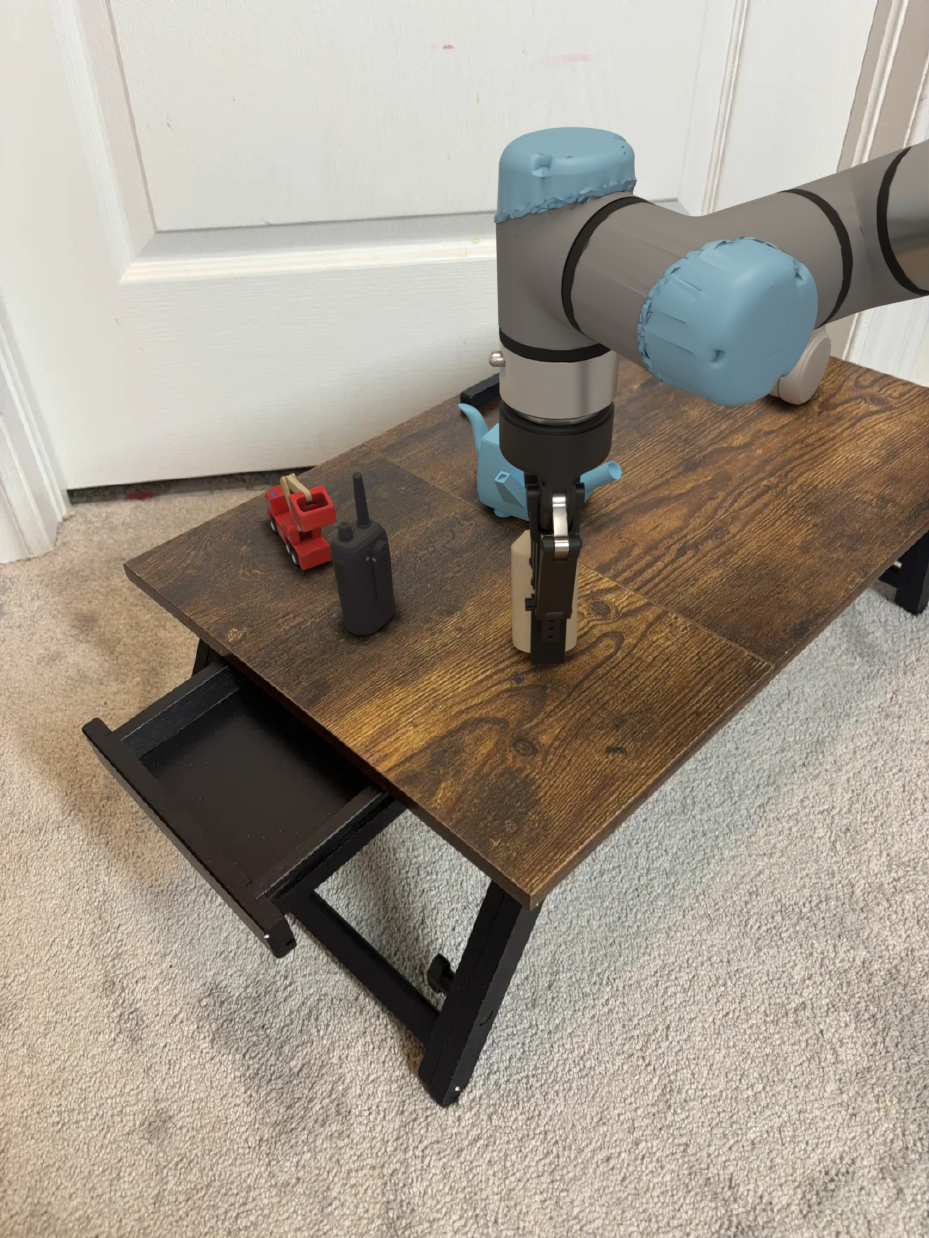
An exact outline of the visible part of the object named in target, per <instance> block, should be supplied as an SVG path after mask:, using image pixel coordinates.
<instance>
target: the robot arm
mask: <svg viewBox="0 0 929 1238" xmlns="http://www.w3.org/2000/svg"><path fill="white" fill-rule="evenodd" d="M635 158H636V155H635V151H634V148H633V147H632V146H631V144H630V143H629V142H628V141H627V140H626V139H625V138H624V137H623V136H622V135H621V134H618V133H616V132H613V131H610V130H607V129H601V128H594V127H583V126H561V127H550V128H544V129H540V130H539V129H538V130H536V131H530V132H527V133H524V134H522V135H520V136H517V137H515V139H513V140H512V141H510V142H508V144H507V145H506V146H505V148H504V149H503V151H502V153H501V155H500V157H499V161H498V173H497V174H498V175H497V177H498V178H497V200H496V213H494V215H493V216H494V217H493V223H494V224H495V243H496V245H495V247H496V248H495V249H496V250H495V251H496V282H497V283H496V284H497V285H496V287H497V290H496V291H497V325H498V339H499V340H498V346H499V350H492V351H491V352H490V353H488V364H489V365H490V366H491V367H492V368H499V372H498V373H499V395H500V397H501V399H500V400H499V402H498V423H499V447H500V451H501V453H502V455H503V457H504V458H505V459H506V460H507V461H508V462H509V463H510V464H511V465H512V466H514V467H515V468H517V469H519V470H521V471H524V484H525V489H526V500H527V513H528V518H529V521H528V528H529V529H528V530H530V558H529V565H530V566H531V569H532V577H531V585H532V587H533V590H535V593H534V594H531V598H525V611H531V634H530V653H529V655H530V656H529V657H530V658H529V659H530V666H547V665H548V666H550V665H551V666H552V665H565V664H566V663H565V661H566V651H565V647H566V628H567V619H571V614H572V602H573V594H574V585H575V577H576V569H577V560H578V557H580V554H581V549H582V548H583V540H582V537H581V535H580V526H581V525H580V523H581V512H582V510H583V508H584V507H585V504H586V501H585V484H584V482H580V478H581V475H582V474H584V473H586V472H588V471H590V470H592V469H594V468H596V467H597V466H598V467H600V466H601V465H602V464H603V463H604V462H605V461H606V460H607V458H608V457H609V455H610V452H611V450H612V444H613V433H614V432H613V431H614V420H615V402H614V400H615V398H616V397H617V392H618V391H617V390H618V379H619V368H620V358H621V356H622V357H623V358H624V359H627V360H628V361H630V362H632V363H634V364H635V365H637V366H638V367H640V368H642V369H643V370H645V371H647V372H649V373H650V374H652V375H653V376H654V377H655V378H656V379H658V380H660V381H661V383H663V384H665V385H666V386H668V387H670V386H671V387H673V388H674V389H676V390H678V391H681V390H682V391H683V390H684V391H686V392H689V393H691V394H693V395H696V396H698V397H700V398H702V399H703V400H706V401H708V402H711V403H713V404H715V405H718V406H723V407H740V406H745V405H748V404H752V403H754V402H757V401H758V400H761V399H762V398H764V397H766V396H767V395H769V394H768V393H769V392H771V390H772V389H773V387H774V385H775V383H776V381H777V379H778V378H780V377H786V376H787V375H788V374H789V373H790V372H791V371H792V370H793V368H794V367H795V366H796V364H797V363H798V361H799V360H800V358H801V356H802V354H803V353H804V351H805V349H806V347H807V345H808V343H809V340H810V338H811V335H812V332H813V330H815V329H817V328H820V327H822V326H823V325H825V324H826V325H827V324H830V323H833V322H836V321H839V320H841V319H845V318H847V317H850V316H853V315H855V314H858V313H861V312H864V311H867V310H870V309H875V308H878V307H882V306H883V307H884V306H888V305H894V304H897V303H903V302H906V301H912V300H916V299H920V298H924V297H929V138H927V139H925V140H923V141H921V142H919V143H916V144H913V145H909V146H907V147H903V148H899V149H897V150H894V151H891V152H888V153H887V154H884V155H881V156H878V157H876V158H872V159H871V160H868V161H864V162H862V163H860V164H857V165H854V166H851V167H849V168H847V169H844V170H840V171H838V172H835V173H832V174H829V175H826V176H823V177H820V178H817V179H815V180H812V181H809V182H806V183H803V184H800V185H797V186H794V187H792V188H789V189H784V190H780V191H777V192H774V193H770V194H767V195H763V196H761V197H757V198H754V199H751V200H748V201H746V202H745V201H744V202H742V203H739V204H735V205H733V206H729V207H725V208H723V209H720V210H716V211H714V212H711V213H707V214H704V215H694V216H693V215H687V214H683V213H681V212H679V211H675V210H672V209H669V208H666V207H664V206H661V205H658V204H656V203H654V202H650V201H649V200H648V199H645V198H643V197H641V196H638V195H635V194H634V191H635V187H637V186H636V185H637V182H638V180H637V177H636V169H635V162H636V161H635V160H636V159H635ZM578 561H579V560H578Z"/></svg>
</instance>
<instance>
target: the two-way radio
mask: <svg viewBox="0 0 929 1238" xmlns="http://www.w3.org/2000/svg"><path fill="white" fill-rule="evenodd" d="M351 477H352V485H353V496H354V505H355V512H356V513H355V514H356V519H355V520H353V522H351V523H350V522H348V521H341V522H340V523H339V524H338V527H337V534H336V535H335V536H334V537H333V538H332V539H331V544H330V554H331V561H332V564H333V571H334V577H335V581H336V586H337V595H338V598H339V599H338V600H339V603H340V608H341V612H342V617H343V622H344V623H343V624H344V626H345V628H346V630H347V631H348V632H350V633H351V634H353V635H356V636H363V635H365V636H367V635H371V634H373V633H375V632H377V631H378V630H379V629H381V628H382V627H383V626H384V625H385V624H386V623H387V622H389V621H390V620H391V618H392V617H393V616H394V615H395V608H396V607H395V606H396V605H395V595H394V581H393V580H394V579H393V570H392V569H393V568H392V558H391V550H390V544H389V539H388V534H387V530H385V528H384V527H383V526H382V525H381V524H380V523H379V522H377V521H376V520H374V519H371V518H370V515H369V509H368V501H367V495H366V490H365V485H364V479H363V474H362V473H361V472H360V471H354V472H353V473H352V475H351Z"/></svg>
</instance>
